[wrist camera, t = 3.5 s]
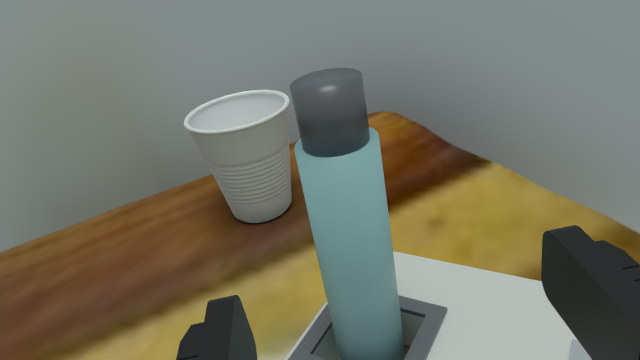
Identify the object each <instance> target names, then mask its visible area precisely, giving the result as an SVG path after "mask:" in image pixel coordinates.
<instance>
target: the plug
mask: <svg viewBox="0 0 640 360" xmlns="http://www.w3.org/2000/svg"><path fill="white" fill-rule="evenodd" d="M290 90H291V95H292V99H293V104H294V109H295V114H296V118H297V123H298V128H299V133H300V138H301V139H300V140H298V142H297V143H296V145H295V147H294V151H295V155H296V160H297V165H298V169H299V174H300V178H301V183H302V188H303V192H304V197H305V201H306V206H307V210H308V215H309V220H310V224H311V229H312V233H313V238H314V243H315V247H316V252H317V256H318V261H319V266H320V270H321V275H322V279H323V284H324V288H325V293H326V298H327V302H328V307H329V311H330V316H331V321H332V325H333V330H334V334H335V339H336V343H337V348H338V353H339V357H340V360H404V359H405V357H406V353H405V345H404V337H403V329H402V321H401V313H400V305H399V297H398V288H397V280H396V272H395V264H394V256H393V248H392V240H391V231H390V223H389V215H388V207H387V199H386V191H385V183H384V175H383V166H382V158H381V150H380V142H379V135H378V132H377V131H376V130H375V129H373V128H371V127H369V124H368V117H367V109H366V102H365V94H364V87H363V79H362V73H361V72H360V71H358V70H355V69H350V68H334V69H326V70H321V71H316V72H313V73H309V74H307V75H304V76H302V77H299V78H298V79H296V80H295V81H293V82H292V83H291V85H290Z"/></svg>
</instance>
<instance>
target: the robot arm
mask: <svg viewBox="0 0 640 360" xmlns="http://www.w3.org/2000/svg"><path fill="white" fill-rule="evenodd" d="M541 279H542V285H543V289H544V292H545V294H546V296H547V298H548V300H549V302H550V303H551V304H552V306H553V307H554V308H555V310H556V311H557V313H558V314H559V315H560V317H561V318H562V319H563V321H564V322H565V323H566V325H567V326H568V327H569V329H570V330H571V332H572V333H573V334H574V336H575V337H576V338H577V340H578V341H579V342H580V344H581V345H582V347H583V348H584V349H585V351H586V352H587V353H588V355H589V356H590V357H591V359H592V360H640V266H639V264H638V263H637V262H636V261H635V260H634V259H633V258H632V257H631V256H629V255H628V254H627V253H626V252H625V251H624V250H622V249H620V248H618V247H616V246H614V245H612V244H610V243H608V242H606V241H604V240H601V241H596V242H594V241H593V240H592V239H591V238H590V237H589V236H588V235H587V234H586V233H585V232H584V231H583V230H582V229H581V228H580V227H578V226H576V225H573V226H568V227H563V228H559V229H554V230H549V231H546V232H544V234H543V241H542V271H541ZM176 360H257V352H256V345H255V340H254V337H253V334H252V331H251V328H250V325H249V322H248V320H247V317H246V314H245V311H244V308H243V306H242V303H241V300H240V298H239V296H238V295H234V296H229V297H224V298H219V299H214V300H210V301H209V302H208V304H207V309H206V315H205V321H204V322H203V323H198V324H194V325H191V326H190V328H189V329H188V331H187V332H186V334H185V335H184V337H183V338H182V340H181V342H180V345H179V350H178V354H177V359H176Z"/></svg>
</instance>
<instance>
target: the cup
mask: <svg viewBox="0 0 640 360" xmlns="http://www.w3.org/2000/svg"><path fill="white" fill-rule="evenodd" d="M289 103H290V102H289V97H288V96H287V95H286V94H284V93H282V92H278V91H274V90H252V91H245V92H239V93H234V94H230V95H227V96H223V97H220V98H217V99H215V100H212V101H210V102H207V103H205V104H203V105H201V106H199V107H197V108H196V109H194V110H193V111H191V112H190V113H189V114H188V115H187V116H186V118H185V120H184V127H185V128H186V129H187V130H188V131H190V133H191V135H192V136H193V139H194V140H195V142H196V144H197V146H198V148H199V150H200V152H201V154H202V156H203V158H204V159H205V161H206V163H207V164H208V167H209V168H210V170H211V172H212V174H213V176H214V178H215V180H216V181H217V184H218V185H219V188H220V189H221V192H222V193H223V195H224V197H225V199H226V201H227V203H228V205H229V207H230V209H231V211H232V213H233V215H234V216H235V217H236V218H237V219H239V220H242V221H244V222H248V223H261V222H266V221H269V220H272V219H274V218H276V217H278V216H280V215H281V214H283V213H284V212H285V211H286V210H287V208H288V207H289V206H290V204H291V201H292V195H291V174H290V154H289V153H290V152H289V131H288V130H289V129H288V105H289Z"/></svg>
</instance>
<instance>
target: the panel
mask: <svg viewBox="0 0 640 360" xmlns="http://www.w3.org/2000/svg"><path fill="white" fill-rule="evenodd" d="M393 256H394V264H395V272H396V280H397V288H398V297H399V305H400V313H401V321H402V329H403V337H404V345H406V346H410V348H409V351H408V353H407V355H406V357H405V359H404V360H592V359H591V357H590V356H589V355H588V353H587V352H586V351H585V349H584V348H583V347H582V345H581V344H580V342H579V341H578V340H577V338H576V337H575V336H574V334H573V333H572V332H571V330H570V329H569V327H568V326H567V325H566V323H565V322H564V321H563V319H562V318H561V317H560V315H559V314H558V313H557V311H556V310H555V308H554V307H553V306H552V304H551V303H550V302H549V300H548V298H547V296H546V294H545V292H544V289H543V285H542V282H541V281H536V280H531V279H526V278H521V277H517V276H512V275H507V274H502V273H497V272H492V271H487V270H482V269H477V268H472V267H468V266H463V265H458V264H453V263H448V262H443V261H438V260H433V259H428V258H423V257H419V256H414V255H409V254H404V253H399V252H394V251H393ZM339 358H340V357H339V353H338V348H337V343H336V339H335V334H334V330H333V325H332V321H331V316H330V311H329V307H328V302H327V301H326V302H325V304H324V305H323V306H322V308H321V309H320V311H319V312H318V313H317V315H316V316H315V318H314V319H313V320H312V322H311V323H310V324H309V326H308V327H307V329H306V330H305V331H304V333H303V334H302V336H301V337H300V338H299V340H298V341H297V343H296V344H295V345H294V347H293V348H292V350H291V351H290V352H289V354H288V355H287V356H286V358H285V359H284V360H339Z"/></svg>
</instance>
